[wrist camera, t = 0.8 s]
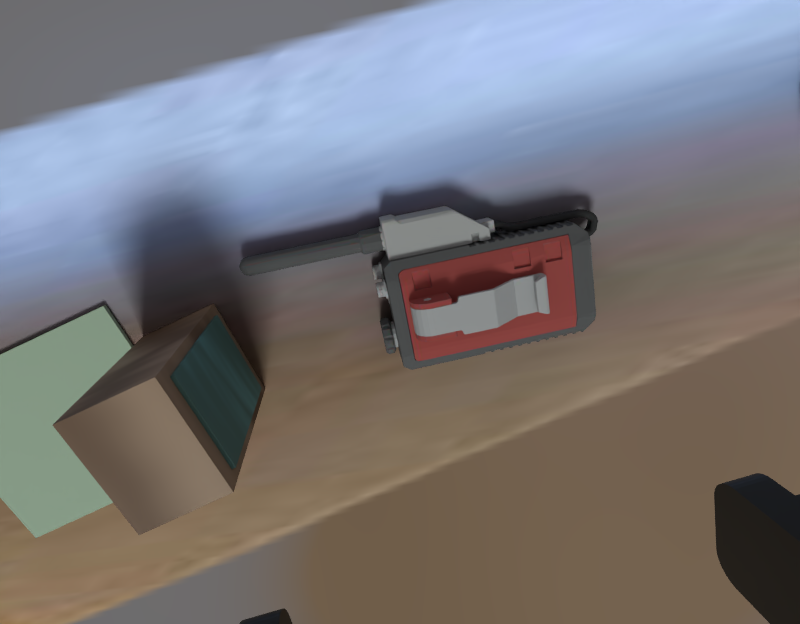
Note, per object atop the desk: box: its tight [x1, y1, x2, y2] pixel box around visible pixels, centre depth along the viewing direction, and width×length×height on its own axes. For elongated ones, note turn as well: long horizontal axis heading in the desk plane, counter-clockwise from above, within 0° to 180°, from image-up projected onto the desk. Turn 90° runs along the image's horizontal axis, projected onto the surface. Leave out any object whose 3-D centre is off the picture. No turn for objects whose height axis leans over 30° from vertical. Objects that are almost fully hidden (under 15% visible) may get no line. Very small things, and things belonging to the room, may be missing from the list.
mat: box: [0, 305, 133, 538], centre depth 31 cm, size 12×11×1 cm
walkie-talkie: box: [240, 206, 598, 370], centre depth 29 cm, size 9×4×20 cm
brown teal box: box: [53, 303, 265, 535], centre depth 26 cm, size 5×6×10 cm
